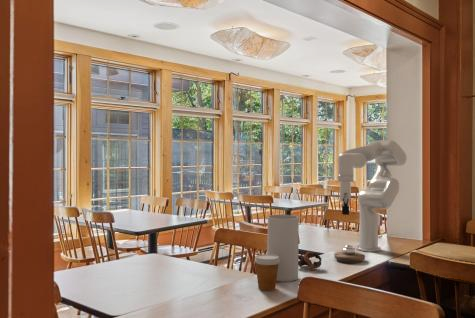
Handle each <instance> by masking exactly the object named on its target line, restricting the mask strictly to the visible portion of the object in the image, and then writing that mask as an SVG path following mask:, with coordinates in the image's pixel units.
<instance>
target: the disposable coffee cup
mask: <svg viewBox="0 0 475 318" xmlns="http://www.w3.org/2000/svg"><path fill="white" fill-rule="evenodd" d="M253 260H254V262H255V269H256V270H255V271H256V277H257V278H256V279H257V286H258V290H260V291H264V292H271V291H275V290H276V285H277V281H276V279H277V272H278V264H279V261H280V260H279V257H278V256H277V255H272V254H267V253H262V254H257V255H255V258H254V259H253Z"/></svg>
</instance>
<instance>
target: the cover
mask: <svg viewBox="0 0 475 318" xmlns="http://www.w3.org/2000/svg"><path fill="white" fill-rule="evenodd" d="M341 252H342V254H345V255H354V254H355V252H356V247H353V245H349V244H346V245H344V247H342V251H341Z"/></svg>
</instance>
